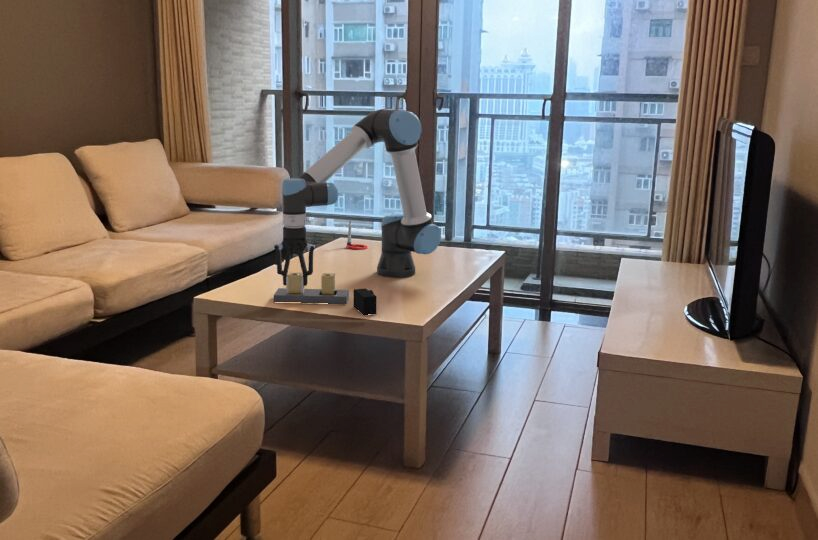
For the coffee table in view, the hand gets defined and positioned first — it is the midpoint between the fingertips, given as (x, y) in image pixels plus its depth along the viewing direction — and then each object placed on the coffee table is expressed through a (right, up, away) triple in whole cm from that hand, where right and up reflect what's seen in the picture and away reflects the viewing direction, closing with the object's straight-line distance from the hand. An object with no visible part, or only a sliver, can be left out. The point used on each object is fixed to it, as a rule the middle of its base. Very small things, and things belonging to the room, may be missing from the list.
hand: (295, 294), depth 257 cm
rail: (+5, -3, +1) cm, 6 cm away
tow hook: (+15, +18, +90) cm, 93 cm away
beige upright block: (+11, -2, 0) cm, 11 cm away
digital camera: (+24, -6, -10) cm, 27 cm away
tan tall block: (0, -2, 0) cm, 2 cm away
